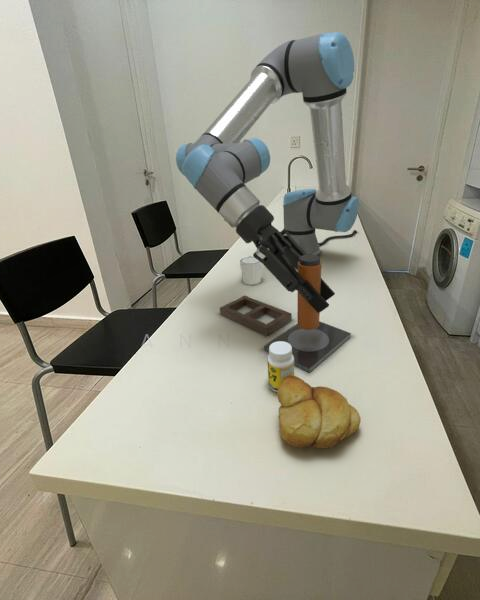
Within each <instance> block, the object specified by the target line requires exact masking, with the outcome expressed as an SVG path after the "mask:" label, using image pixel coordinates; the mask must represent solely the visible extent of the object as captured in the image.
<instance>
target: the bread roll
mask: <svg viewBox="0 0 480 600" xmlns="http://www.w3.org/2000/svg"><path fill="white" fill-rule="evenodd" d="M276 393H277V400H278V403H279V404H280V406H279V407H278V415H277V417H278V421H279V422H278V423H279V435H280V437H281V439H282V440H283V441H284V442H286V443H287V444H288V445H291V446H293V447H295V448H307V447H311V448H318V449H323V448H324V449H325V448H326V449H331V448H333V447H334V446H335V445H336V444H337V443H340V442H341V441H343V440H344V439H346V438H347V437H349V436H351V435H353V434H354V433H355V432H356V431H357V430H358V429H359V427H360V425H361V420H362V418H361V416H360V413H359V411H358V410H357V408H356V407H354V406H352V405H351V404H350V403H349V402H348V399H347V397H345V396H344V395H343V394H342V393H340V392H339V391H337V390H335V389H332V388H331V387H327V386H321V385H320V386H311V385H310V384H309V383H308V382H306V381H305V380H304V379H301V378H300V377H298V376H296V375H294V376H293V375H292V376H287V377H285V378H284V379H283V380H282V381H281V384H280V386H279V388H278V391H277V392H276Z"/></svg>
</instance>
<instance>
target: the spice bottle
mask: <svg viewBox="0 0 480 600" xmlns="http://www.w3.org/2000/svg"><path fill="white" fill-rule="evenodd" d="M297 272H298V273H299V275H300V276H301V277H302V279H303V280H304V282H305V281H306V280H307V281H308V282H309V283H310V284H311V285H312V286H313V287H314V288H315V290H316V291H317V292H318V293H319V294H320V289H321V278H322V261H321V257H320V256H319V255H318V256H317V255H303V256H300V258H299V262H298V270H297ZM320 313H321V312H320ZM320 313H319V314H318V313H317V311H316V310H315V309H314V308H313V307H312V306H311V305H310V304H309V303H308V302H307V301H306V300H305V298H304V297H303V296H302V295H301V294H300V293H299V292H298V291H297V317H296V319H297V321H296V322H297V323H296V324H298V327H300V328H301V329H304V330H313V329H316V328H318V326H319V321H320Z"/></svg>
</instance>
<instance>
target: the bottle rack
mask: <svg viewBox="0 0 480 600" xmlns="http://www.w3.org/2000/svg"><path fill="white" fill-rule="evenodd" d="M244 306H246V307H248V308H251V310H249V311H247V312H246V313H242V312H240V311H237V310H239V309H241V308H242V307H244ZM219 313H220V316H223V317H225V318H227V319H230V320H232V321H234V322H236V323H238V324H240V325H243V326H245V327H247V328H249V329H251V330H254V331H255V332H258V333H260V334H262V335H264V336H266V337H268V336H270V335H271V334H273V333H274V332H276V331H277V330H279V329H281V328H282V327H283V326H285V325H287V324H288V323H290V322H291V321H292V320H293V319H292V315H293V314H292V313H291V312H289V311H287V310H284V309H282V308H279V307H275V306H273V305H270V304H268V303H266V302H263V301H260V300H257V299H256V298H253V297H249V296H247V295H243V296H240V297H239V298H237V299H234V300H232V301H230V302H228V303H226V304H224V305H222V306H220V307H219ZM264 315H268V316H270V317H273V318H274V319H272V320H271V321H269V322H268V323H265V322H263V321H262V320H261V321H260V320H258V319H259V318H261V317H262V316H264Z"/></svg>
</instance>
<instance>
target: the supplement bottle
mask: <svg viewBox="0 0 480 600" xmlns="http://www.w3.org/2000/svg"><path fill="white" fill-rule="evenodd" d="M292 375H293V376H295V365H294V356H293V355H292V346H291V345H290V344H289V343H287V342H284V341H278V342H274V343H272V344H271V345H270V347H269V352H268V355H267V378H268V381H267V382H268V387H269V388H270V390H272V391H273V392H275V393H277V391H278V388H279V386H280V384H281V381H282V380H283V379H284V378H285V377H287V376H292Z"/></svg>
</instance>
